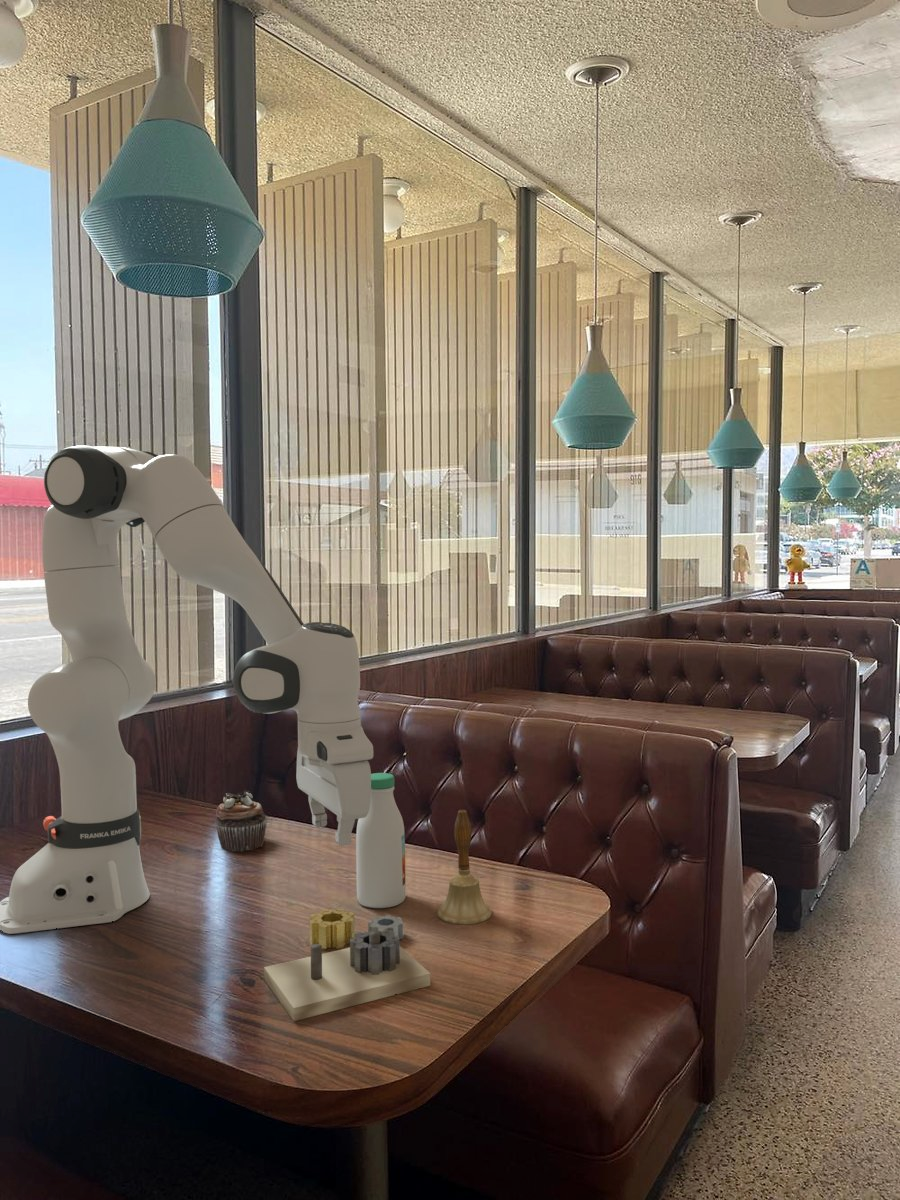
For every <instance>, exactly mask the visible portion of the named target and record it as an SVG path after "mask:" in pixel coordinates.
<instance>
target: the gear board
mask: <svg viewBox="0 0 900 1200" xmlns="http://www.w3.org/2000/svg"><path fill="white" fill-rule="evenodd" d="M369 944H380V932H378V931H372V932H370V933H369ZM322 950H323V949H322V945H320V944H313V945H311V944H310V956H306V957H302V958H298V959H294V960H290V961H285V962H281V963H275V964H272V965H268V966H264V967H263V978H264V981H265V982H266V984H267V985H268V986H269V988H270V990H271V991H272V992H273V994H274V995H275V997H276V998H277V1000H278V1001H279V1002H280V1004H281V1005H282V1006H283V1008H284V1009H285V1011H286V1013H287V1014H288V1015H289V1017H290V1018H291V1020H292V1021H293V1022H297V1021H300V1020H304V1019H308V1018H312V1017H315V1016H316V1017H317V1016H321V1015H323V1014H327V1013H331V1012H334V1011H339V1010H343V1009H347V1008H349V1007H355V1006H358V1005H361V1004H365V1003H369V1002H373V1001H376V1000H380V999H385V998H388V997H392V996H396V995H395V994H397V995H400V994H404V993H408V992H411V991H416V990H419V988H420V989H423V988H427V987H430V986H431V972H429V971H428V970H427V969H426V968H425V967H424V966H423V965H422V964H421V963H419V961H417V960H416V959H414V957H413V956H411V955H410V954H409V953H408V952H407V951H406V950H405V949H404V948H403V947H401V946H400V964H396V969H395V970H393V971H391V972H390V971H382V972H379V975H371V973H368V972H362V973H358V972H356V971H355V966H350V947H345V948H340V949H337V950H333V951H330V952H329V951H328V952H325V953H322V952H323V951H322Z"/></svg>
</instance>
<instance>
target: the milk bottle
mask: <svg viewBox="0 0 900 1200" xmlns="http://www.w3.org/2000/svg"><path fill="white" fill-rule="evenodd" d="M395 781H396V780H395V775H393V774H392V773H388V772H375V773H371V798H370V809H369V812H368V814H367V816H366V817H365V818H360V819H357V825H356V839H355V841H356V842H355V844H356V845H355V847H356V849H355V851H356V854H355V856H356V857H355V858H356V870H355V871H356V872H355V873H356V874H355V875H356V899H357V901H358V904H360V905H361V906H363V907H366V908H371V909H372V908H373V909H387V908H391V907H392V908H393V907H396V906H399V905H400V904H402V903H403V902H404V901H405V898H406V886H407V885H406V841H405V840H406V839H405V838H406V837H405V836H406V835H405V826H404V820H403V816H402V815H401V812H400V810H399V808H398V806H397V803H396V800H395V797H394V790H395Z"/></svg>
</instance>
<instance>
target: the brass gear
mask: <svg viewBox="0 0 900 1200" xmlns="http://www.w3.org/2000/svg"><path fill="white" fill-rule="evenodd" d="M355 928H356V927H355V913H354V912H352V911H350V912H347V911H345V909H344V908H337V909H333V910H332V909H328V908H326V909H322V910H320V912H318V913H312V914H311V915H310V916H309V943H310V946H311V945H313V944H320V945H322V950H327V949H331V948H333V949H337V950H340V949H344V947H345V946H346V945H349V944H350V939H355V934H356V932H355Z"/></svg>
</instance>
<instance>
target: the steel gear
mask: <svg viewBox="0 0 900 1200" xmlns="http://www.w3.org/2000/svg"><path fill="white" fill-rule="evenodd" d="M372 931H378V929H371V931H368V930H367V931H364V932H362V931H359V932H355V936H354V938H355V939H350V943H349V948H350V966H355V971H356V972H358V973H362V972H368V973H371V975H379V972H382V971H390V972H391V971H393V970H395V969H396V964H400V947H401V945H400V939H399V936H398V937H395V935H394V932H392V931H390V930H388V931H386V932H385V931H382V932H381V931H378V932H380V944H369V933H370V932H372Z"/></svg>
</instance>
